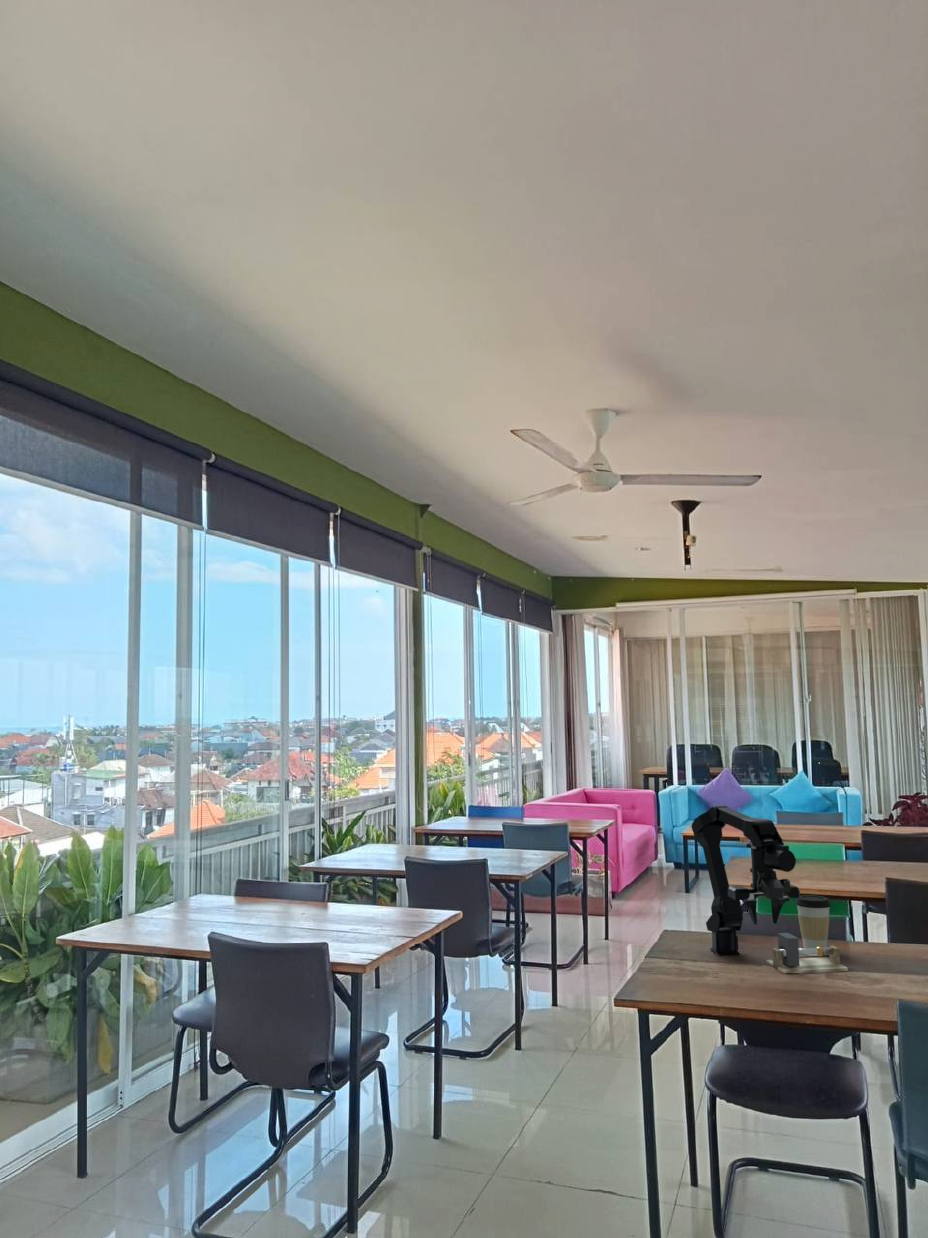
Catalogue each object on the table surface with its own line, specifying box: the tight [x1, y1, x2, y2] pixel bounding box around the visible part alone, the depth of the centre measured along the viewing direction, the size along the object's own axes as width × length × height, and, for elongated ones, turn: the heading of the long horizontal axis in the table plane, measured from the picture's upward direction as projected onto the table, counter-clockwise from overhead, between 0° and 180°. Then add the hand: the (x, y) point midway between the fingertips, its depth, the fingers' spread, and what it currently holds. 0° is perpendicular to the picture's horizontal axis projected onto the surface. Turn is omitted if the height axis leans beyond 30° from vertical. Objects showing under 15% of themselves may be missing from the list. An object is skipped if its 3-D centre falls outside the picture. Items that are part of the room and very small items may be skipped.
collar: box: [777, 932, 800, 967], centre depth 252 cm, size 3×6×7 cm, turn 7°
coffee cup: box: [795, 894, 832, 948], centre depth 270 cm, size 10×10×15 cm
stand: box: [766, 945, 849, 974], centre depth 253 cm, size 18×11×5 cm, turn 97°
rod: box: [772, 946, 834, 957], centre depth 253 cm, size 18×2×2 cm, turn 97°
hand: (765, 924), depth 252 cm, fingers open, 5 cm apart
